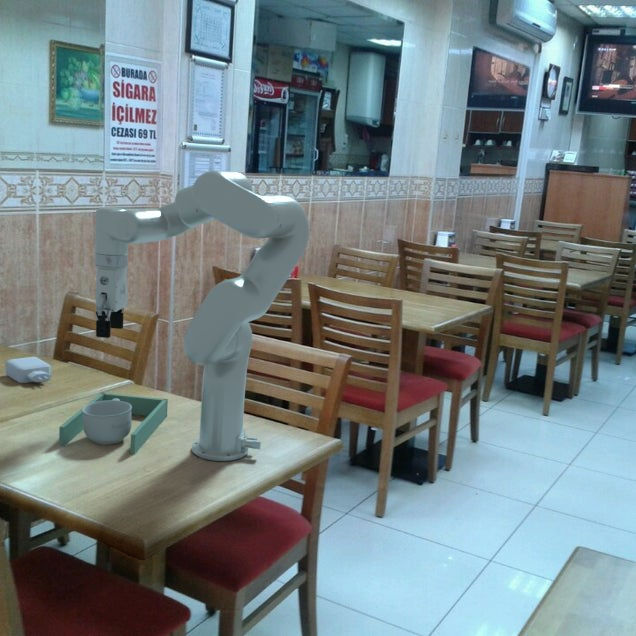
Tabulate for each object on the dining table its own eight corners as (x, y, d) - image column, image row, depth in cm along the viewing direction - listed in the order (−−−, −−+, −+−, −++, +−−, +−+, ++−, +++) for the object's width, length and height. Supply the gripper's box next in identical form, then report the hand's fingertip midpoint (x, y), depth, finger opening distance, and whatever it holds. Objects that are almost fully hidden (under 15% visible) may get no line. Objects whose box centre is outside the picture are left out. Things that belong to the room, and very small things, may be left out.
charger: (27, 390, 200) (5, 376, 211) (60, 385, 207) (37, 371, 217) (27, 373, 199) (5, 360, 210) (60, 369, 206) (37, 356, 216)
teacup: (117, 451, 165) (118, 417, 163) (72, 444, 166) (72, 410, 165) (144, 431, 178) (145, 398, 176) (102, 424, 180) (103, 392, 178)
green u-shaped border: (167, 416, 189) (167, 399, 188) (134, 454, 164) (135, 434, 163) (101, 409, 190) (101, 392, 189) (59, 446, 165) (59, 426, 164)
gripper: (115, 267, 166) (114, 342, 169) (137, 257, 183) (135, 326, 186) (82, 264, 166) (81, 339, 169) (107, 255, 183) (106, 323, 186)
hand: (109, 332), depth 178 cm, fingers open, 9 cm apart
